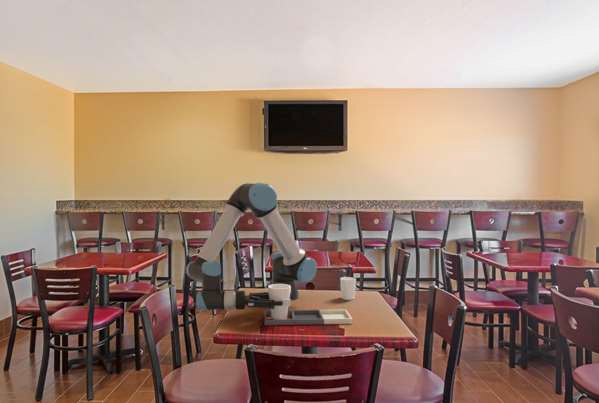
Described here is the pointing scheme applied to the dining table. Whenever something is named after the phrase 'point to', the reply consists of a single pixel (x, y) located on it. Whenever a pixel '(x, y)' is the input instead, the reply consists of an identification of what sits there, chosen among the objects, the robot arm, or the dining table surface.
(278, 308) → the foam cup
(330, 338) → the dining table surface
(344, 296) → the white cup
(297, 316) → the grey flat rectangular tray
